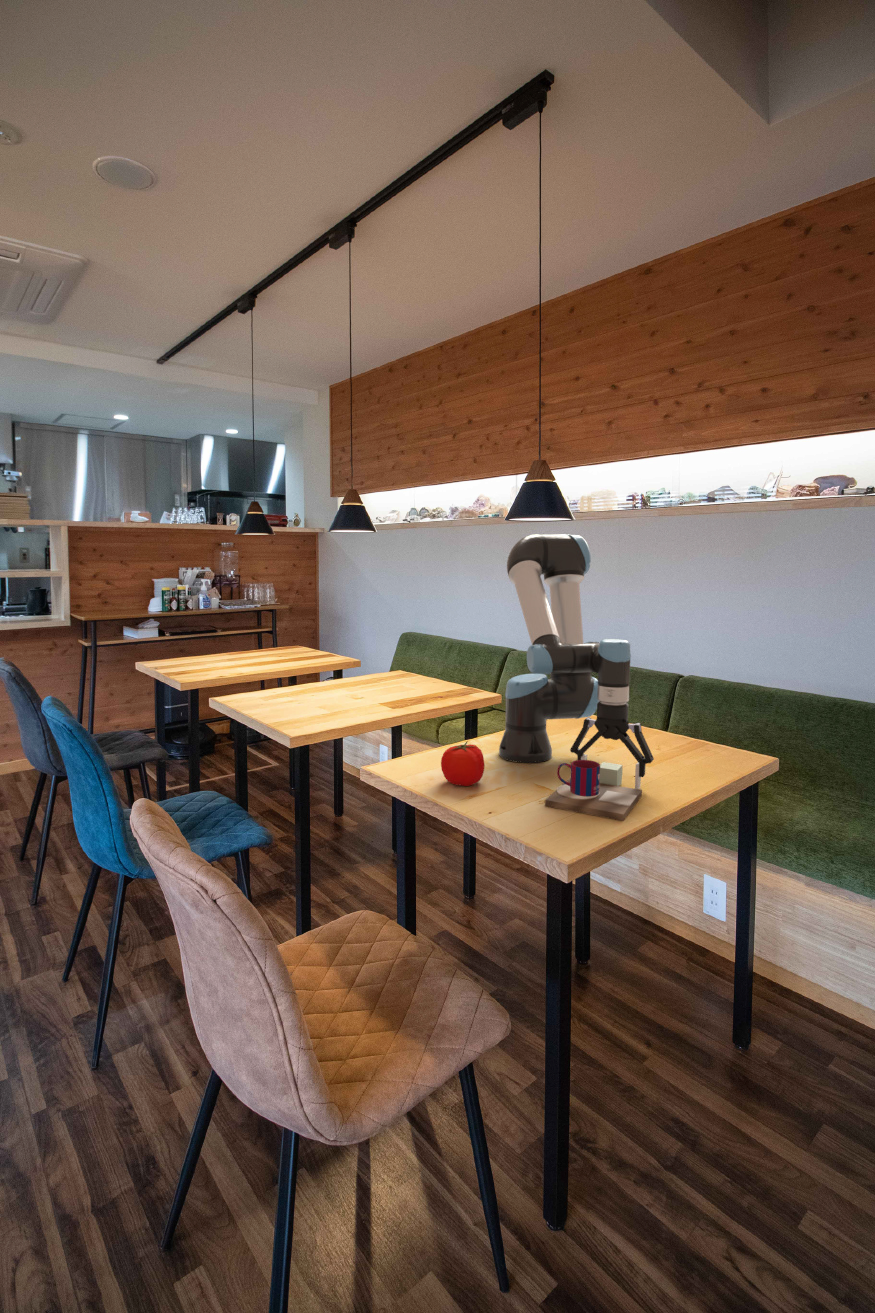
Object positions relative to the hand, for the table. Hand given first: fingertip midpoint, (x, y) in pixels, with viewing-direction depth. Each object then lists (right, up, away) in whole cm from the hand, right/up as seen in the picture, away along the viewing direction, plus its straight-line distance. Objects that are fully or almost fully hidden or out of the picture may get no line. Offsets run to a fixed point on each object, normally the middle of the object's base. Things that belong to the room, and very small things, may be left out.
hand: (609, 784), depth 170 cm
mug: (-10, 0, -9) cm, 13 cm away
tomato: (-37, 0, +2) cm, 37 cm away
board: (-7, -2, -11) cm, 13 cm away
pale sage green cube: (0, 0, 0) cm, 0 cm away
